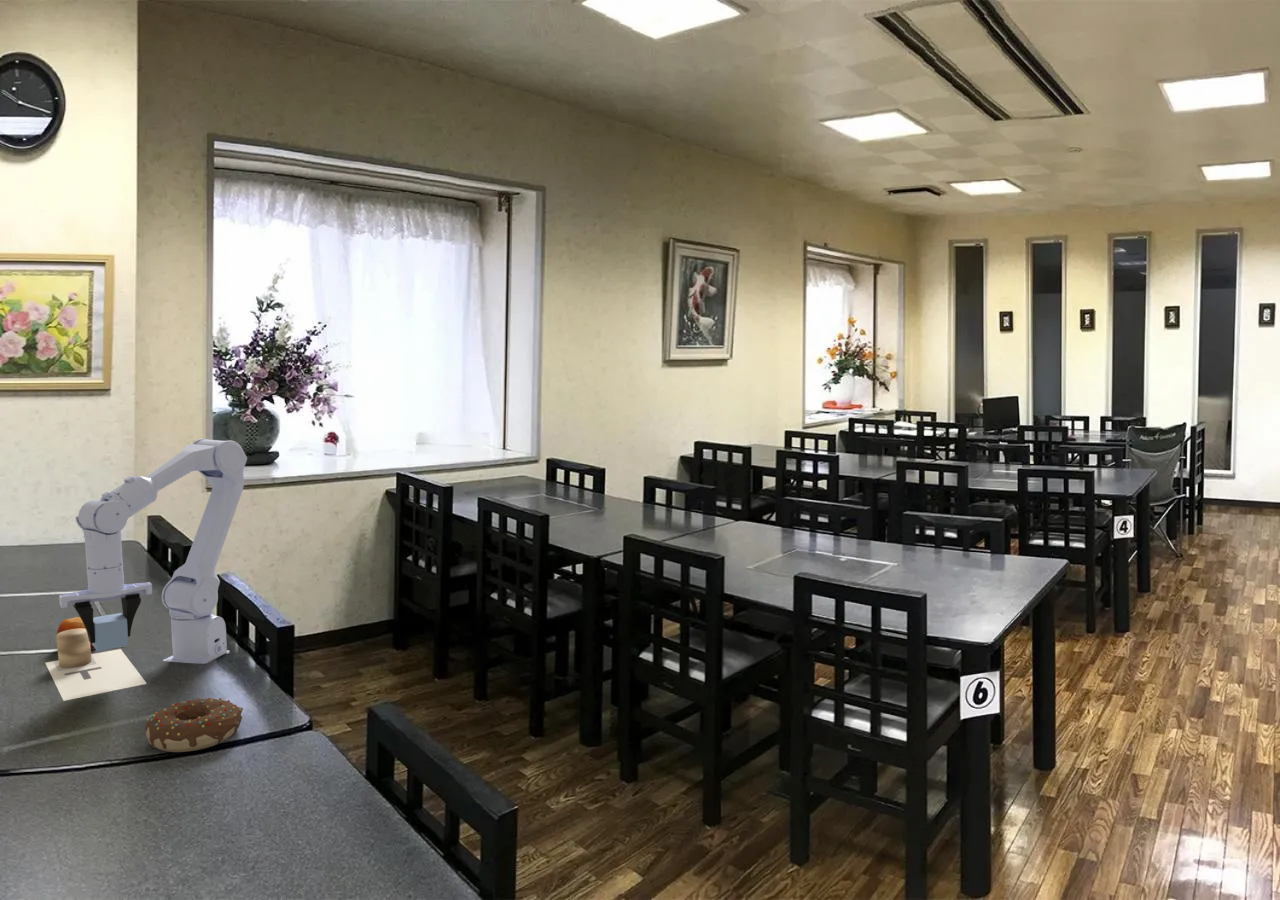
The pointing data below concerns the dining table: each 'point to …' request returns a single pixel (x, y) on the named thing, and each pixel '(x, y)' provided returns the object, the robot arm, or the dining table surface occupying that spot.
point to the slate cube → (110, 631)
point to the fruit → (72, 625)
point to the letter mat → (95, 675)
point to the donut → (193, 725)
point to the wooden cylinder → (73, 648)
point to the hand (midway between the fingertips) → (109, 638)
